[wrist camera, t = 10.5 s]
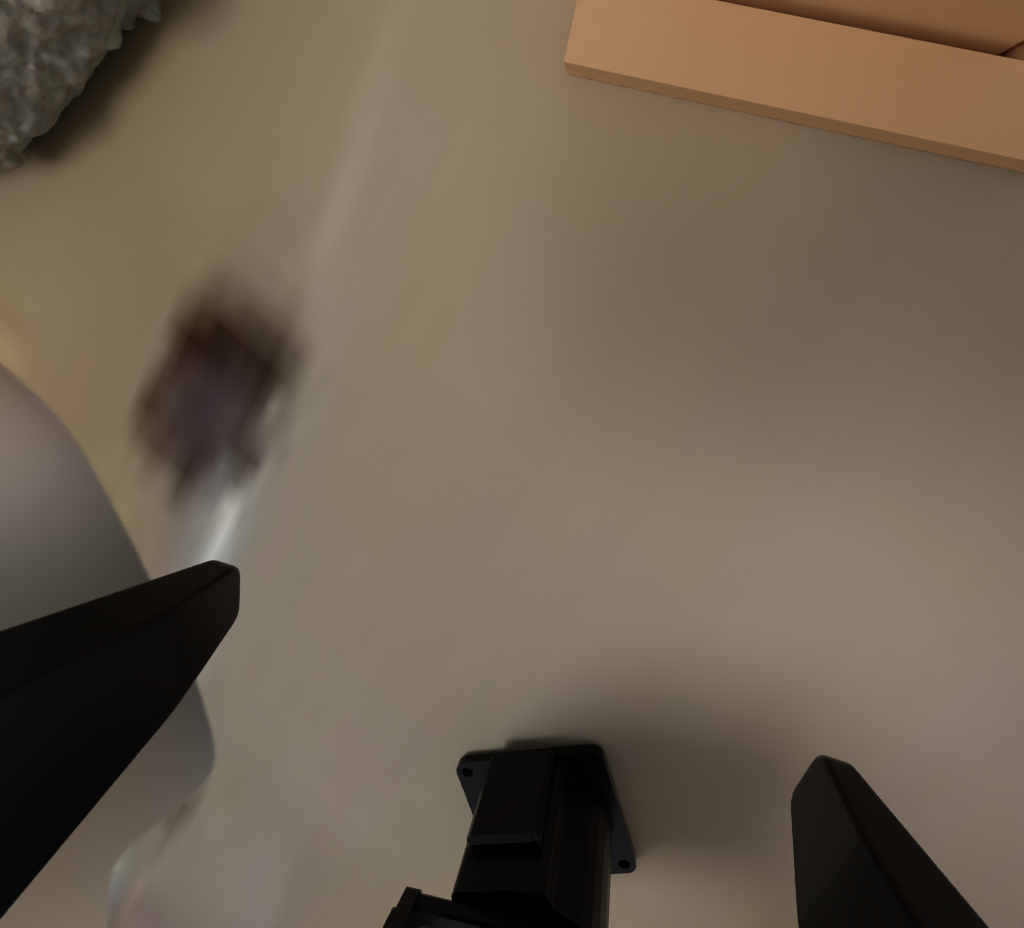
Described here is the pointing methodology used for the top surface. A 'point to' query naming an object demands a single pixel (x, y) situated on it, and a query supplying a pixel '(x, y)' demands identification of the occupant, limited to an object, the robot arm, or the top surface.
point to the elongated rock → (53, 60)
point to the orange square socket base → (826, 65)
